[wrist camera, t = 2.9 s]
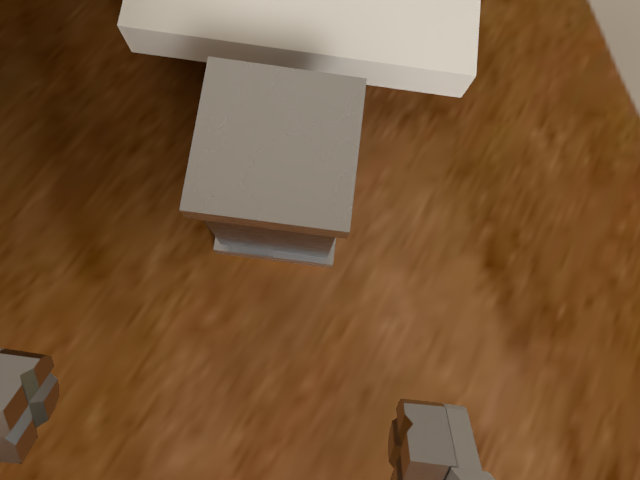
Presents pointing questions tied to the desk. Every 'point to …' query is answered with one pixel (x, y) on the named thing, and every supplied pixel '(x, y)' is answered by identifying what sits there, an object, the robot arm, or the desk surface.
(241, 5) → the stand
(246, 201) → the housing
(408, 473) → the robot arm
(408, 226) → the desk surface
